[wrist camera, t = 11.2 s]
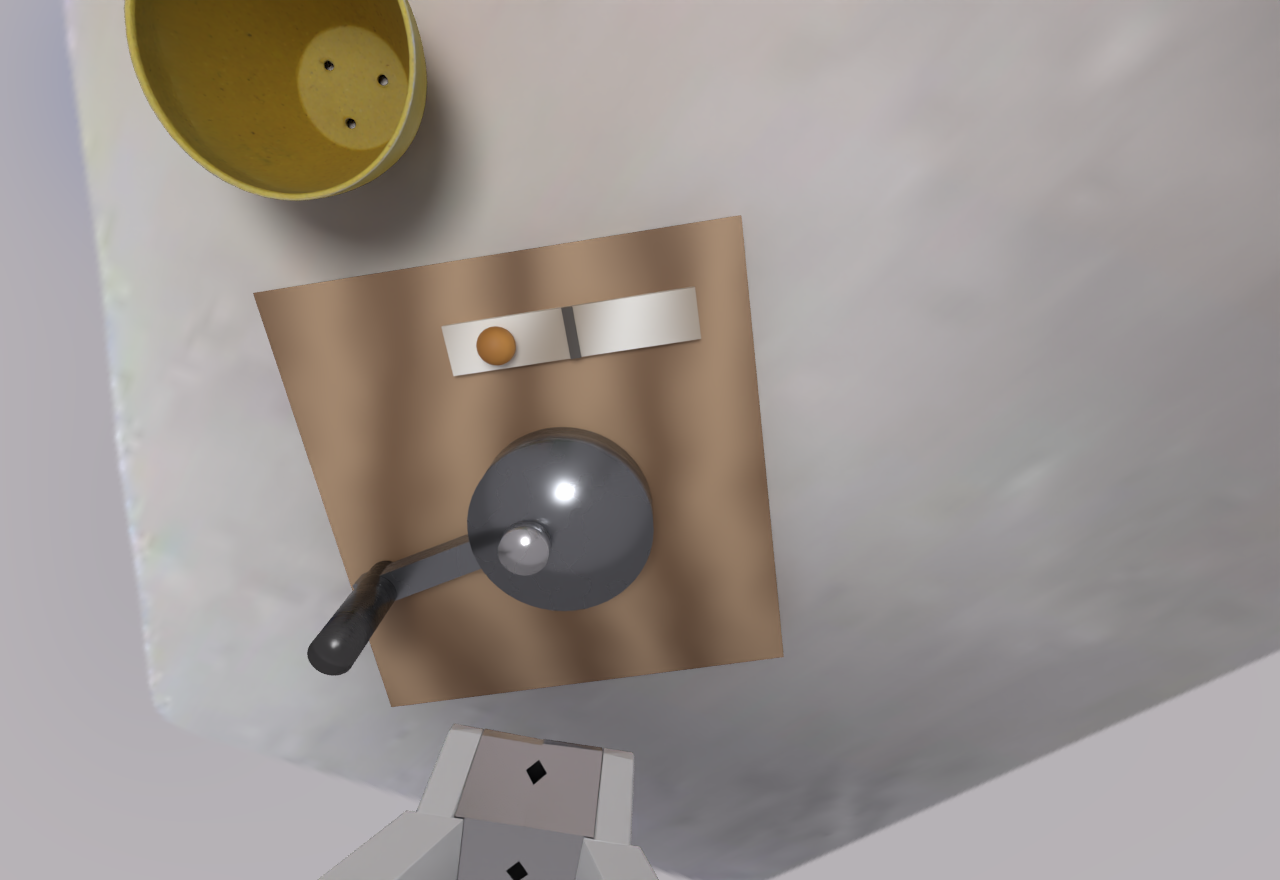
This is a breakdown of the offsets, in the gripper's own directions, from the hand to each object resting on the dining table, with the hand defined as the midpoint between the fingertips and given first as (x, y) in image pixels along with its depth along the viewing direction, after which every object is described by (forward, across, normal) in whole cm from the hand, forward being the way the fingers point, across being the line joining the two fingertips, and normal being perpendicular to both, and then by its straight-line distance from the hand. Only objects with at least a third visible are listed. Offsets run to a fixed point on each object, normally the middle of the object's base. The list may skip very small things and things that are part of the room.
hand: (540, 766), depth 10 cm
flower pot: (+25, +14, -11) cm, 31 cm away
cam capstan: (+22, +5, +8) cm, 24 cm away
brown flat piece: (+24, +3, +6) cm, 25 cm away
